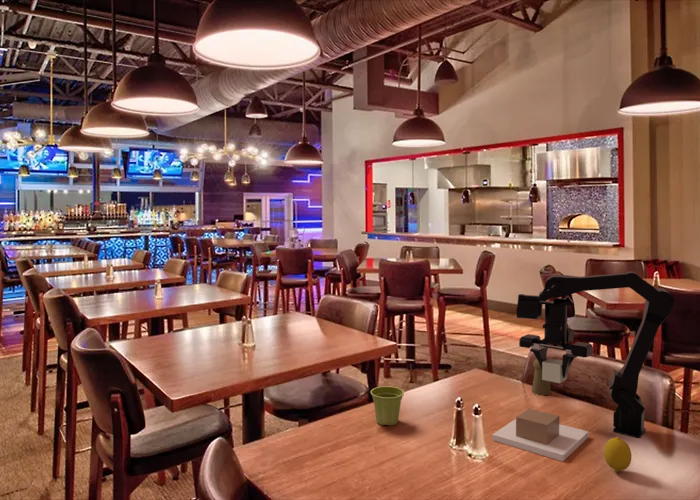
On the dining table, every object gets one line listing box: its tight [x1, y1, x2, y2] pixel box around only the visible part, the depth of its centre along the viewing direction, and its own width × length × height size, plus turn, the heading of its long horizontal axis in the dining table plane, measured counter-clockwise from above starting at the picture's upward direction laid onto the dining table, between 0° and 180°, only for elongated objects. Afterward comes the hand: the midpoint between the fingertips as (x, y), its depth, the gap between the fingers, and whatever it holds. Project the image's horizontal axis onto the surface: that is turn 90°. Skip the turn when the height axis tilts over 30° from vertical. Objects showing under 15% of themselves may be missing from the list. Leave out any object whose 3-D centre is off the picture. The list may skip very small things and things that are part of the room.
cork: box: [531, 358, 552, 396], centre depth 172 cm, size 6×6×11 cm
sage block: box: [542, 358, 568, 384], centre depth 148 cm, size 5×5×5 cm
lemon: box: [603, 436, 632, 473], centre depth 119 cm, size 6×6×8 cm
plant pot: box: [370, 385, 405, 426], centre depth 149 cm, size 9×9×9 cm
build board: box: [491, 408, 590, 462], centre depth 137 cm, size 18×18×6 cm
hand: (554, 375), depth 148 cm, fingers closed on sage block, 5 cm apart
